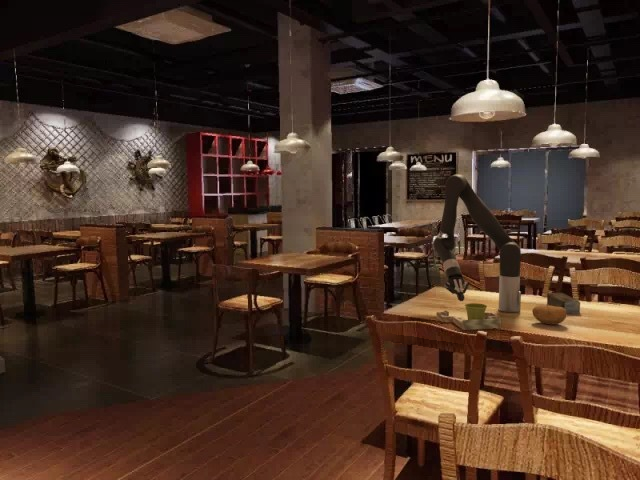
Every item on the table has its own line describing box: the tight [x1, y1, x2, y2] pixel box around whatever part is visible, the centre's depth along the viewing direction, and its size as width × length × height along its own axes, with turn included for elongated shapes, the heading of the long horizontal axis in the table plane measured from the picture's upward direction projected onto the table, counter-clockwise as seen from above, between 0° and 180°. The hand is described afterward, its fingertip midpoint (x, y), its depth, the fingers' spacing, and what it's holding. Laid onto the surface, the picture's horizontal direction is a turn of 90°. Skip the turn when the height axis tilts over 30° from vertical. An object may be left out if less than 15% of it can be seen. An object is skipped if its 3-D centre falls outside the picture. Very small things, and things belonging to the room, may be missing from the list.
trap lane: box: [435, 310, 501, 331], centre depth 228 cm, size 26×23×4 cm
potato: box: [531, 305, 568, 325], centre depth 224 cm, size 10×14×8 cm
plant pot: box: [464, 302, 488, 320], centre depth 223 cm, size 9×9×9 cm
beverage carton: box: [546, 292, 581, 314], centre depth 251 cm, size 8×19×7 cm, turn 0°
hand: (462, 300), depth 239 cm, fingers closed
